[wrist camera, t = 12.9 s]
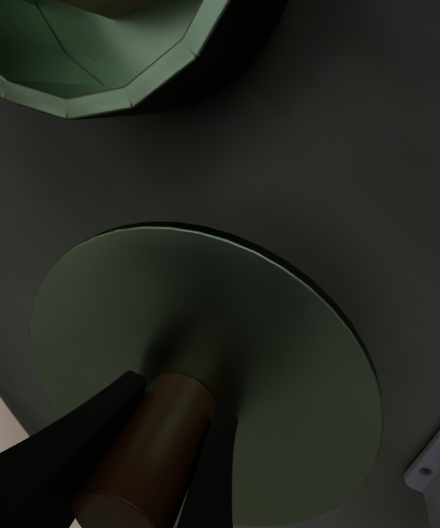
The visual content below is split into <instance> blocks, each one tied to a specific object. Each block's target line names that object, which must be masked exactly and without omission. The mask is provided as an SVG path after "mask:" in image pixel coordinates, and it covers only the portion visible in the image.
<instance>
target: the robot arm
mask: <svg viewBox="0 0 440 528" xmlns="http://www.w3.org/2000/svg"><path fill="white" fill-rule="evenodd" d="M146 381H147V377H145V376H143V375H140V374H138V373H136V372H133V371H131V370H129V371H126V372H125V373H124V374H123V375H121V376H120V377H119V378H117V379H116V380H115V381H114V382H112V383H111V384H110V385H108V386H107V387H106V388H104V389H103V390H101V391H100V392H99V393H97V394H96V395H94V396H93V397H92V398H90V399H89V400H87V401H86V402H84V403H83V404H81V405H80V406H78V407H77V408H76V409H74V410H73V411H71V412H70V413H68V414H67V415H65V416H63V417H62V418H60V419H59V420H57V421H55V422H54V423H52V424H50V425H49V426H47V427H46V428H44V429H42V430H41V431H39V432H37V433H36V434H34V435H32V436H30V437H29V438H27V439H25V440H23V441H22V442H20V443H18V444H16V445H14V446H12V447H11V448H9V449H7V450H5V451H3V452H1V453H0V528H69V527H70V526H71V524H72V522H73V521H74V519H75V515H74V513H73V507H72V505H73V500H74V498H75V496H76V494H77V493H78V491H79V490H80V488H81V487H82V485H83V484H84V483H85V481H86V480H87V478H88V477H89V475H90V474H91V472H92V471H93V469H94V468H95V466H96V465H97V463H98V462H99V460H100V459H101V457H102V456H103V454H104V453H105V451H106V450H107V448H108V447H109V445H110V444H111V442H112V441H113V439H114V438H115V437H116V435H117V434H118V432H119V431H120V429H121V428H122V426H123V425H124V423H125V422H126V420H127V419H128V417H129V416H130V414H131V413H132V411H133V410H134V408H135V407H136V405H137V404H138V402H139V401H140V399H141V398H142V396H143V395H144V392H145V387H146ZM238 421H239V420H238V418H237V417H236V416H234V415H232V414H230V413H228V412H225V411H223V410H221V409H218V408H217V410H216V413H215V415H214V417H213V420H212V422H211V424H210V427H209V429H208V432H207V435H206V438H205V441H204V444H203V447H202V450H201V453H200V456H199V460H198V463H197V466H196V470H195V473H194V476H193V479H192V481H191V484H190V486H189V489H188V493H187V496H186V499H185V502H184V506H183V509H182V512H181V516H180V519H179V522H178V526H177V528H233V520H232V469H233V453H234V443H235V435H236V429H237V425H238ZM424 468H425V469H424ZM404 479H405V483H406V484H407V486H409V487H411V488H412V489H415V490H417V491H419V492H422V493H423V495H424V500H425V505H426V510H427V515H428V520H429V525H430V528H440V430H439V432H438V433H437V434H436V435H435V437H434V438H433V439H432V440H431V441H430V443H429V444H428V445H427V446H426V448H425V449H424V450H423V451H422V452H421V454H420V455H419V456H418V457H417V459H416V460H415V461H414V462H413V463H412V465H411V466H410V467H409V468H408V470H407V471H406V472H405V474H404Z"/></svg>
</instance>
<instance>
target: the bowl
mask: <svg viewBox="0 0 440 528" xmlns="http://www.w3.org/2000/svg"><path fill="white" fill-rule="evenodd" d="M287 1H288V0H157V1H154V2H152V3H149V4H147V5H144V6H142V7H140V8H137V9H135V10H132V11H130V12H127V13H125V14H123V15H120V16H118V17H115V18H113V19H109V18H106V17H103V16H100V15H97V14H94V13H91V12H88V11H85V10H82V9H79V8H76V7H74V6H71V5H68V4H65V3H62V2H59V1H56V0H0V97H1V98H3V99H4V100H6V101H9V102H12V103H15V104H18V105H21V106H24V107H27V108H30V109H34V110H37V111H40V112H43V113H46V114H49V115H52V116H55V117H59V118H62V119H65V120H81V119H93V118H105V117H117V116H129V115H141V114H150V113H156V112H162V111H168V110H176V109H180V108H186V107H192V106H195V105H198V104H199V103H201V102H202V101H204V100H206V99H208V98H209V97H211V96H213V95H214V94H216V93H218V92H219V91H221V90H223V89H224V88H225V87H226V86H227V85H229V84H230V83H231V82H232V81H234V80H235V79H236V78H237V77H238V76H239V75H240V74H242V73H243V72H244V70H246V68H247V67H248V66H249V65H250V64H251V63H252V61H253V60H254V59H255V57H256V56H257V55H258V53H259V52H260V51H261V49H262V48H263V47H264V45H265V44H266V42H267V40H268V39H269V37H270V35H271V34H272V32H273V30H274V28H275V27H276V25H277V23H278V21H279V19H280V17H281V14H282V13H283V10H284V8H285V5H286V3H287Z"/></svg>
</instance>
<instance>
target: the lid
mask: <svg viewBox="0 0 440 528" xmlns="http://www.w3.org/2000/svg"><path fill="white" fill-rule="evenodd" d="M30 341H31V351H32V355H33V360H34V364H35V368H36V371H37V374H38V377H39V379H40V382H41V385H42V387H43V389H44V391H45V393H46V395H47V397H48V399H49V401H50V403H51V404H52V406H53V408H54V409H55V411H56V413H57V414H58V416H59V417H60V418H62V417H63V416H65V415H67V414H68V413H70V412H71V411H73V410H74V409H76V408H77V407H78V406H80V405H81V404H83V403H84V402H86V401H87V400H89V399H90V398H92V397H93V396H94V395H96V394H97V393H99V392H100V391H101V390H103V389H104V388H106V387H107V386H108V385H110V384H111V383H112V382H114V381H115V380H116V379H117V378H119V377H120V376H121V375H123V374H124V373H125V372H126V371H129V370H131V371H133V372H136V373H138V374H140V375H143V376H145V377H147V381H146V387H145V392H144V395H143V396H142V398H141V399H140V401H139V402H138V404H137V405H136V407H135V408H134V410H133V411H132V413H131V414H130V416H129V417H128V419H127V420H126V422H125V423H124V425H123V426H122V428H121V429H120V431H119V432H118V434H117V435H116V437H115V438H114V439H113V441H112V442H111V444H110V445H109V447H108V448H107V450H106V451H105V453H104V454H103V456H102V457H101V459H100V460H99V462H98V463H97V465H96V466H95V468H94V469H93V471H92V472H91V474H90V475H89V477H88V478H87V480H86V481H85V483H84V484H83V485H82V487H81V488H80V490H79V491H78V493H77V494H76V496H75V498H74V500H73V505H72V507H73V513H74V515H75V518H76V520H77V521H78V523H79V525H80V526H81V527H82V528H173V527H174V524H175V522H176V519H177V517H178V514H179V512H180V511H182V509H183V506H184V502H185V499H186V496H187V493H188V489H189V486H190V484H191V481H192V479H193V476H194V473H195V470H196V466H197V463H198V460H199V456H200V453H201V450H202V447H203V444H204V441H205V438H206V435H207V432H208V429H209V427H210V424H211V422H212V420H213V417H214V415H215V413H216V410H217V408H218V409H221V410H223V411H225V412H228V413H230V414H232V415H234V416H236V417H237V418H238V420H239V421H238V425H237V429H236V435H235V443H234V453H233V469H232V520H233V524H237V525H246V526H273V525H284V524H290V523H295V522H299V521H304V520H307V519H310V518H313V517H316V516H318V515H321V514H323V513H325V512H327V511H329V510H331V509H333V508H335V507H336V506H338V505H340V504H341V503H342V502H343V501H345V500H346V499H347V498H349V497H350V496H351V495H353V493H354V492H355V491H356V490H357V489H358V488H359V487H360V486H361V484H362V483H363V482H364V481H365V479H366V478H367V476H368V474H369V473H370V471H371V469H372V468H373V466H374V464H375V461H376V458H377V456H378V453H379V450H380V447H381V442H382V434H383V426H384V421H383V405H382V396H381V390H380V386H379V382H378V378H377V373H376V369H375V367H374V365H373V362H372V360H371V357H370V355H369V353H368V350H367V348H366V346H365V344H364V342H363V341H362V339H361V337H360V336H359V334H358V332H357V331H356V329H355V328H354V326H353V324H352V323H351V321H350V320H349V319H348V318H347V316H346V315H345V314H344V313H343V311H342V310H341V309H340V308H339V307H338V305H337V304H336V303H335V302H334V300H333V299H332V298H331V297H330V296H328V295H327V294H326V293H325V292H324V291H323V290H322V289H321V288H320V287H319V286H318V285H317V284H316V283H315V282H314V281H313V280H312V279H310V278H309V277H308V276H306V275H305V274H304V273H302V272H301V271H300V270H298V269H297V268H295V267H294V266H293V265H291V264H290V263H289V262H287V261H286V260H284V259H282V258H281V257H279V256H277V255H275V254H274V253H272V252H270V251H268V250H267V249H265V248H263V247H261V246H260V245H257V244H255V243H252V242H250V241H248V240H245V239H243V238H240V237H238V236H236V235H233V234H230V233H227V232H223V231H220V230H216V229H213V228H209V227H205V226H201V225H194V224H187V223H180V222H142V223H135V224H127V225H123V226H120V227H116V228H113V229H110V230H106V231H104V232H101V233H99V234H97V235H95V236H93V237H91V238H89V239H87V240H85V241H83V242H82V243H80V244H78V245H77V246H75V247H74V248H73V249H71V250H70V251H68V252H67V253H66V254H64V255H63V256H62V257H61V258H60V259H59V260H58V261H57V262H56V263H55V264H54V266H53V267H52V268H51V269H50V270H49V272H48V273H47V275H46V276H45V278H44V280H43V281H42V283H41V284H40V287H39V289H38V292H37V294H36V297H35V299H34V303H33V308H32V313H31V318H30Z"/></svg>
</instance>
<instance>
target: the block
mask: <svg viewBox="0 0 440 528" xmlns="http://www.w3.org/2000/svg"><path fill="white" fill-rule="evenodd" d="M56 1H59V2H62V3H65V4H68V5H71V6H74V7H76V8H79V9H82V10H85V11H88V12H91V13H94V14H97V15H100V16H103V17H106V18H109V19H113V18H115V17H118V16H120V15H123V14H125V13H127V12H130V11H132V10H135V9H137V8H140V7H142V6H144V5H147V4H149V3H152V2H154V1H157V0H56Z"/></svg>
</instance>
